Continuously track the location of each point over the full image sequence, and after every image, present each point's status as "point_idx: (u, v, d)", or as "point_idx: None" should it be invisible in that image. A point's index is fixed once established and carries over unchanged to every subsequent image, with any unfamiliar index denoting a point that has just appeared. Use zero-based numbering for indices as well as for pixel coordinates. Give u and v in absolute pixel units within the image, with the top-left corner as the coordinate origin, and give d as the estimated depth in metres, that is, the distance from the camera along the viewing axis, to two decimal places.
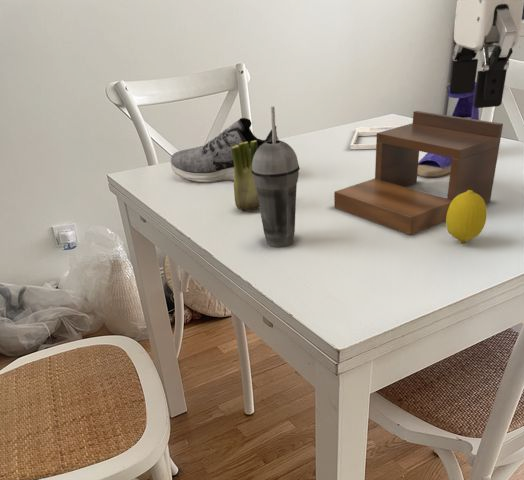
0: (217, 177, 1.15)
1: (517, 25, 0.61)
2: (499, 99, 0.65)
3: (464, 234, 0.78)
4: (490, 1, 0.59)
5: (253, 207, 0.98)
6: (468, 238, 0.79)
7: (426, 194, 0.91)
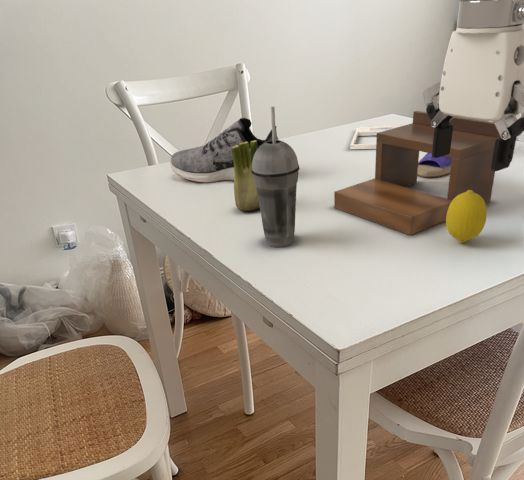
0: (217, 177, 1.15)
1: None
2: None
3: (464, 234, 0.78)
4: (510, 78, 0.64)
5: (253, 207, 0.98)
6: (468, 238, 0.79)
7: (426, 194, 0.91)
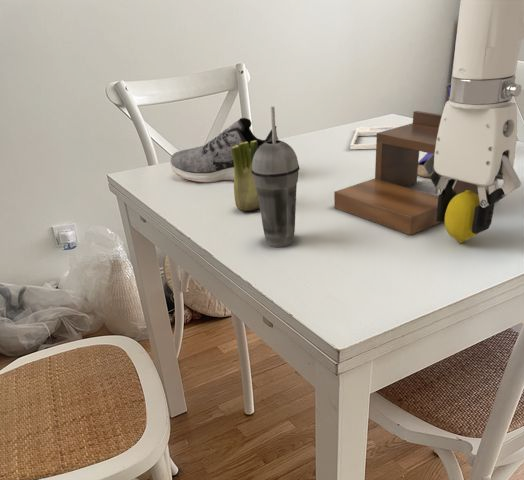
0: (217, 177, 1.15)
1: (512, 164, 0.72)
2: None
3: (462, 234, 0.78)
4: (499, 149, 0.69)
5: (253, 207, 0.98)
6: (466, 238, 0.79)
7: (426, 194, 0.91)
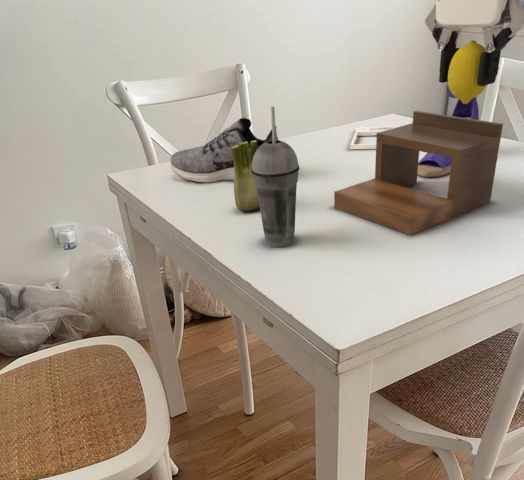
0: (217, 177, 1.15)
1: (520, 0, 0.68)
2: (494, 76, 0.73)
3: (466, 89, 0.74)
4: None
5: (253, 207, 0.98)
6: (471, 95, 0.75)
7: (426, 194, 0.91)
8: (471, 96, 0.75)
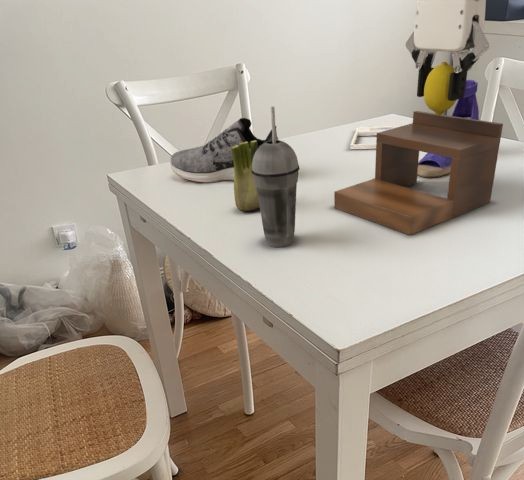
0: (217, 177, 1.15)
1: (482, 30, 0.80)
2: None
3: (439, 103, 0.87)
4: (469, 12, 0.77)
5: (253, 207, 0.98)
6: (443, 108, 0.87)
7: (426, 194, 0.91)
8: (443, 109, 0.88)
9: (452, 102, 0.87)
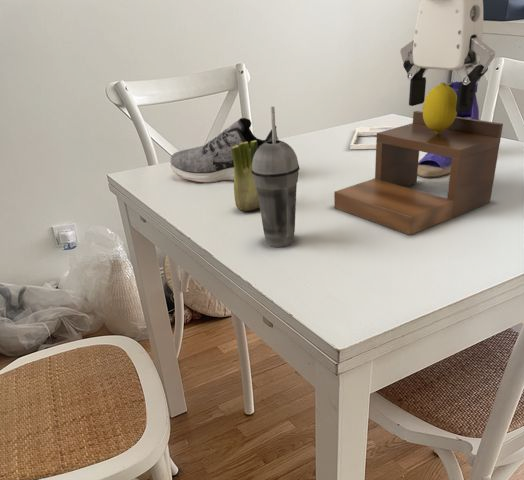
0: (217, 177, 1.15)
1: None
2: (471, 104, 0.86)
3: (437, 123, 0.88)
4: (467, 32, 0.79)
5: (253, 207, 0.98)
6: (442, 127, 0.89)
7: (426, 194, 0.91)
8: (442, 128, 0.89)
9: (450, 122, 0.89)
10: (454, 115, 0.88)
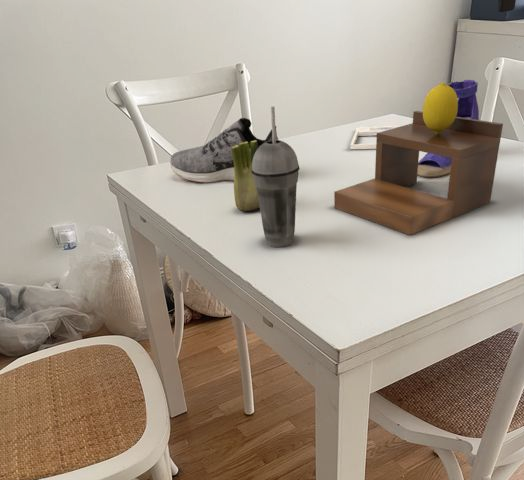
0: (217, 177, 1.15)
1: None
2: None
3: (437, 123, 0.88)
4: None
5: (253, 207, 0.98)
6: (442, 127, 0.89)
7: (426, 194, 0.91)
8: (442, 128, 0.89)
9: (450, 122, 0.89)
10: (454, 115, 0.88)
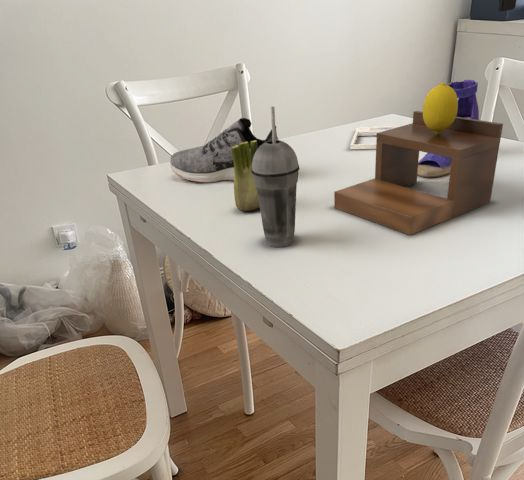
0: (217, 177, 1.15)
1: None
2: None
3: (437, 123, 0.88)
4: None
5: (253, 207, 0.98)
6: (442, 127, 0.89)
7: (426, 194, 0.91)
8: (442, 128, 0.89)
9: (450, 122, 0.89)
10: (454, 115, 0.88)
